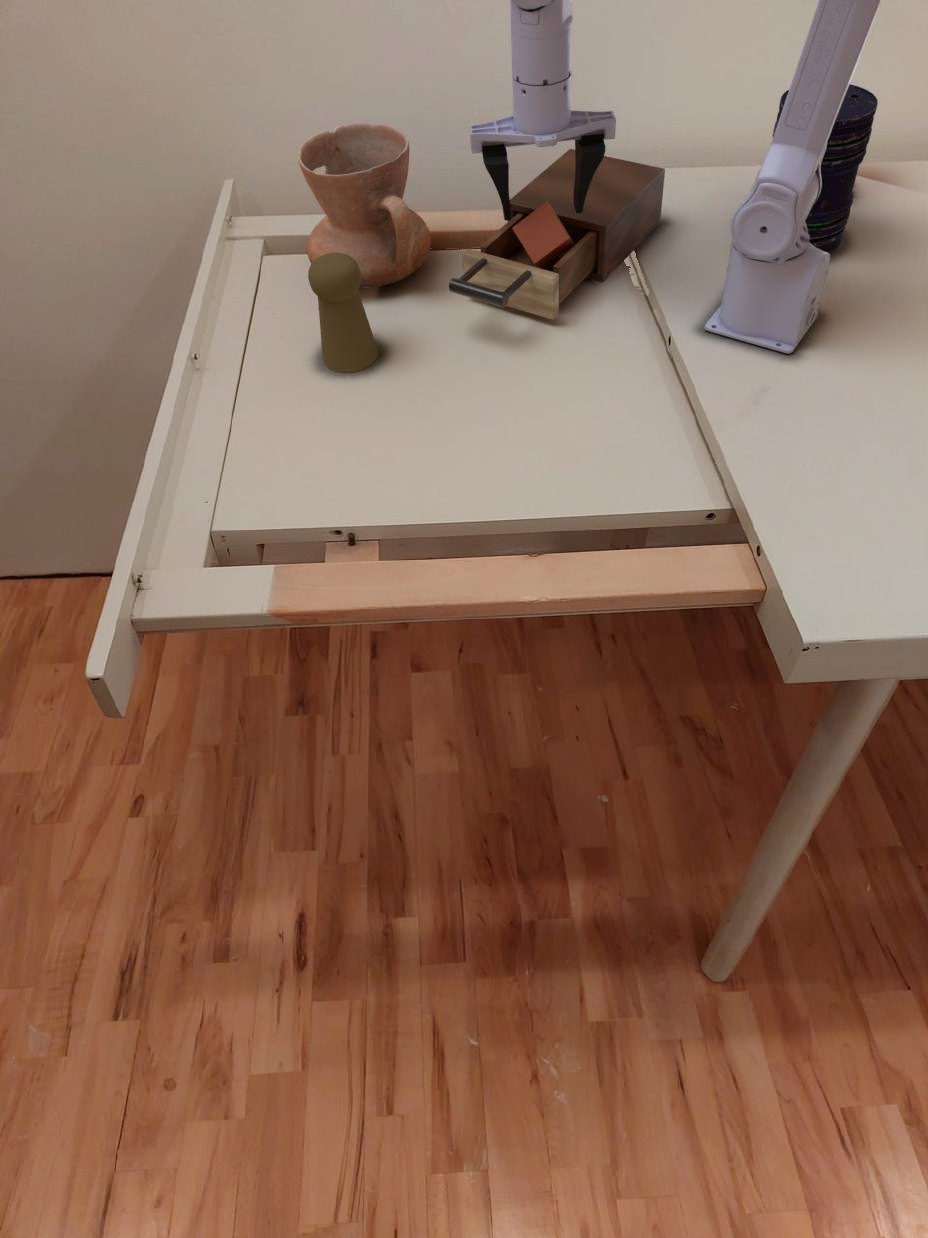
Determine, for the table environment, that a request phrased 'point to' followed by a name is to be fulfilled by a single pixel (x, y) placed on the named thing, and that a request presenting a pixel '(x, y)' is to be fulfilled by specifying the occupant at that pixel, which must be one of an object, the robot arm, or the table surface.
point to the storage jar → (840, 167)
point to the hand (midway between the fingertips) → (542, 212)
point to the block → (543, 236)
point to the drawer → (526, 271)
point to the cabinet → (601, 204)
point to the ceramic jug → (365, 201)
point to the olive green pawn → (342, 314)
